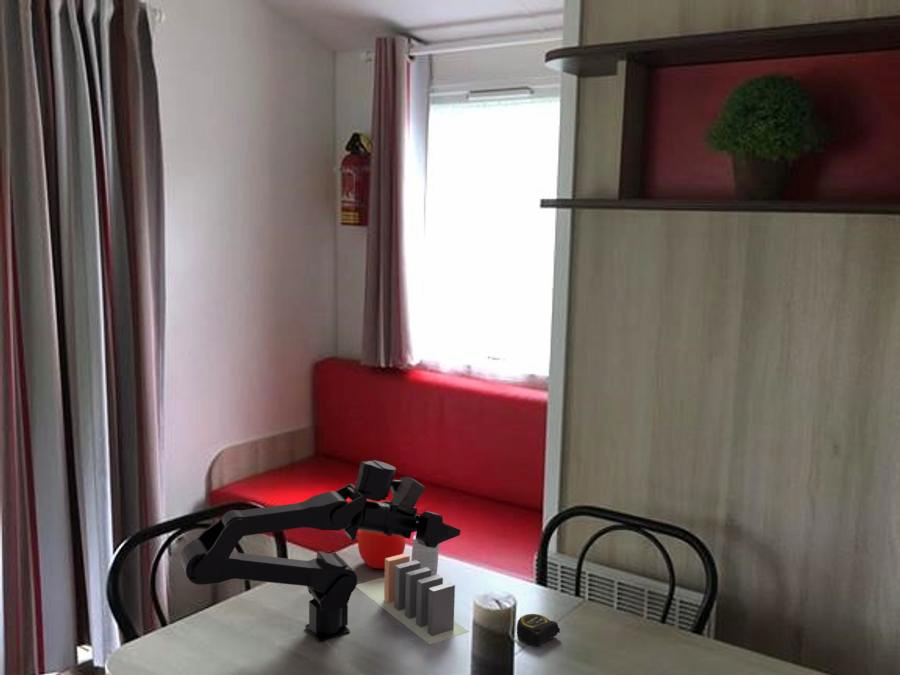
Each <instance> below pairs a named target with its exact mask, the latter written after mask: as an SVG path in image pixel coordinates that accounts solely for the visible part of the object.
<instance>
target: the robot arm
mask: <svg viewBox="0 0 900 675" xmlns="http://www.w3.org/2000/svg"><path fill="white" fill-rule="evenodd" d="M358 470H359V471H358V474H357V478H356V482H355V485H353V484H352V483H348V484H346V485H344V486H343V487H341V488H339V489H337V490H335V491H334V490H329V491H325V492H322V493H319V494H315V495H313V496H310V497H309V498H307V499H306V500H304V501H300V502H296V503H287V504H281V505H272V506H266V507H265V506H264V507H256V508H250V509H240V510H238V509H237V510H236V509H230V510H227V511H226V512H225V513H224V514H223V515H222V516H221V517H220V518H219V519H218V520H217V521H216V522H215V523H213V524H211V525H210V526H209V527H207V528H206V529H205V530H203V531H202V532H201V533H200V535H198V537H197V538H196V539H193V540H191V541H190V542H189V543H187V544H186V545H185V546H184V547H183V549H182V551H181V553H180V558H179V559H180V563H181V565H182V567H183V570H184V573H185V575H186V578H188V580H189V581H190V582H191V583H192V584H194V585H197V586H206V585H207V586H208V585H219V584H222V583H225V582H228V581H231V580H239V581H241V580H242V581H243V580H244V581H253V582H261V583H262V582H263V583H271V584H272V583H273V584H282V585H292V586H300V587H301V586H302V587H306V588H307V591H308V593H309V594H310V595H311V596H312V599H310V600H309V601H308V608H309V609H308V624H307V623H306V624H304V625H305V626H304V628H305V630H307V632H308V633H309V634H310V635H312V636H313V637H314V638H315V640H317V641H318V642H324V641H327V640H328V641H329V640H331V639H334V638H337V637H340V636H344V635H347V634H350V632H351V631H350V628H348V627H347V626H348V624H349V605H348V604H349V600H350V598H351V597H352V596H351V595H352V593H353V592H354V591H355V589H356V588H357V587H356V585H357V584H358V577H357V576H358V575H357V574H356V572H355V571H354V569H353V568H351V566H350V565H349V564H348V563H347V562H346V561H345V559H343V558H342V557H341V556H339V555H338V553H337V552H331V553H330V552H329V553H327V552H325V551H321V550H319V551H318V550H317V552H316V557H315V558H312V559H310V560H303V559H293V558H287V557H285V558H284V557H277V556H276V557H275V556H268V555H260V554H251V553H242V552H235V551H234V550H235V548H236V546H237V544H239V542H240V541H241V539H243V537H247V536H254V535H255V536H256V535H259V534H267V533H268V534H269V533H274V532H281V531H282V532H283V531H288V530H289V531H290V530H296V529H301V528H307V529H308V528H309V529H314V530H320V531H342V530H343V531H344V532H345V535H347V537H348V538H349V539H350V540H352V541H356V539H357V535H358V533H359V532H358V531H361V530H363V531H370V532H377V533H382V534H385V535H387V536H392V535H397V536H402V537H404V538H405V539H407V540H408V539H409V540H410V539H411V537H412V534H413V533H414V532H416V531H417V533H416V540H417V541H418V543H419V544H421V545H424V546H426V547H431V548H436V547H437V545H438V544H439V545H440V544H441V543H443V542H446V541H448V540H452V539H454V538H457V537H459V536H460V535H461V531H462V530H461V529H460V528H457V527H455V526H451V525H449V524H446V523H444V521H443V515H441V514H438V513H436V512H432V511H426V510H425V511H423V513H421V514H420V513H418V507H415V506H416V504H418V502H419V498H420V497H421V495H422V494H423V493H424V491H425V488H426V487H425V485H423V484H421V483H420V482H419V481H417V480H416V479H414V478H412V477H408V476H404V477H400V479H394V477H395V473H396V470H397V468H396V467H395V466H393V465H391V464H389V463H386V462H382V461H379V460H375V459H373V460H367V461H361V462H360V464H359V469H358ZM390 492H391V493H392V494H391V496H392V498H391V500H390V501H389V500H387V498H388V497H389V493H390ZM347 499H350V500H351V501H347ZM381 501H382V502H381Z"/></svg>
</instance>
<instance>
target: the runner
mask: <svg viewBox="0 0 900 675" xmlns="http://www.w3.org/2000/svg"><path fill="white" fill-rule="evenodd" d="M384 585H385V576H383V577H380V578H376V579H373V580H368V581H365V582H362V583H357V585H356V587H355V588H356V589H358V590H359V591H360V592H362V593H363V594H364V595H366V597H368V598H369V599H371V600H372V601H373V602H374V603H376V604H377V605H378V606H380V607H381V608H382V609H383V610H385V611H386V612H387V613H388V614H390V615H391V616H393V617H394V618H395V619H396V620H397V621H399V622H400V623H402V624H403V625H404V626H405V627H406V628H408V629H409V630H411V631H412V632H413V633H414V634H415V635H417V636H418V637H419V638H421V639H422V640H423V641H424V642H426V643H427V644H428V645H429V646H431V645H433V644H436V643H439V642H442V641H445V640H448V639H450V638H454V637H456V636H460V635H462V634H466V633H469V630H468V629H466V628H465V627H464V626H462V625H461V624H460V623H457V622H456V621H455V620H454V629H453V630H450V631H447V632H444V633H441V634H438V635H435V636H431V635H430V634H428V633H427V632H428V625H427V626H424V627H419V626H418V625H417V624H416V617H414V618H411V619H409V618H407V617H406V616H405V609H403V610H400V611H398V610H397V609H396V608H394V603H395V601H393V602H390V603H388V602H386V601H385V600H384Z"/></svg>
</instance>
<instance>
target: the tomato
mask: <svg viewBox="0 0 900 675" xmlns="http://www.w3.org/2000/svg"><path fill="white" fill-rule="evenodd" d="M357 548H358V553H359V555H360V557H361V559H362V560H363V562H364V563H365V564H366V565H367V566H369V567H370V568H373V569H378V570H379V569H380V570H383V569H384V570H385V558H389V557H393V556H397V555H401V554H405V549H406V538H404V537H402V536H397V535H392V536H387V535H385V534H382V533H377V532H370V531H363V530H360V532H359V534H358V539H357Z"/></svg>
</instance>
